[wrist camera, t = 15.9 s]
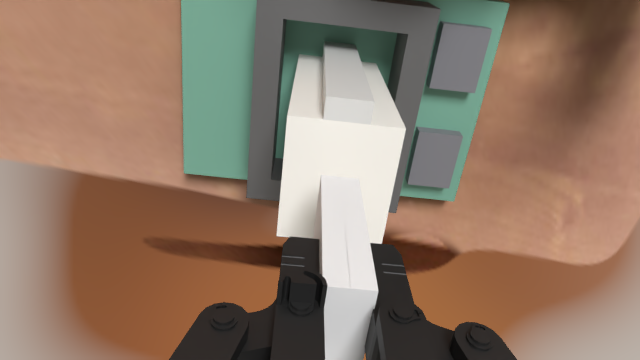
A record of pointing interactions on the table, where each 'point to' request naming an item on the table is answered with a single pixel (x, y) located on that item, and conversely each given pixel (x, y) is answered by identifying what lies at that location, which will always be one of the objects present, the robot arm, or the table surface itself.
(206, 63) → the board
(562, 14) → the table surface
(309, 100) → the plug
